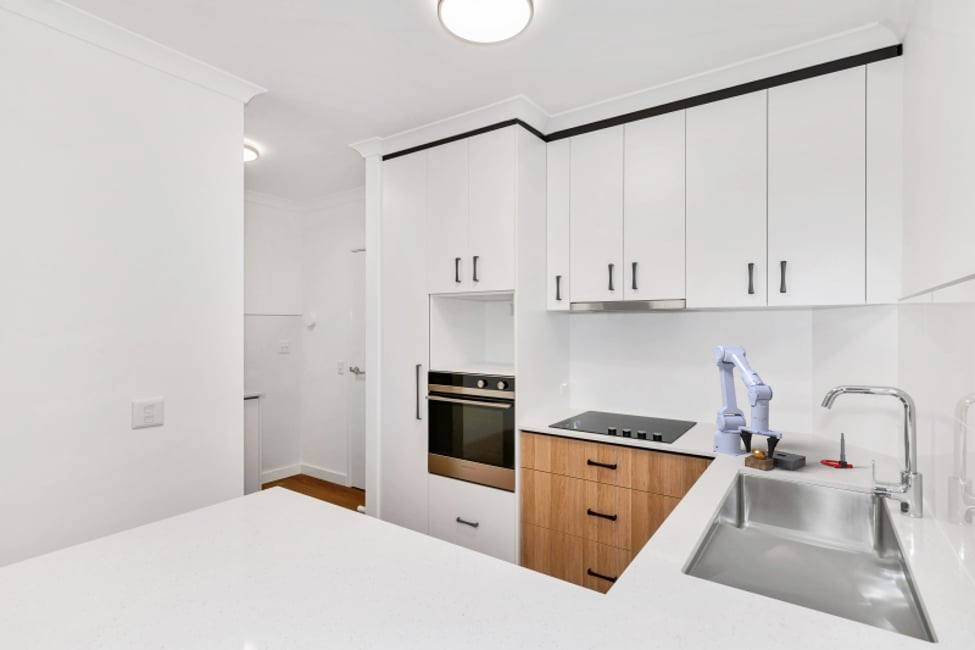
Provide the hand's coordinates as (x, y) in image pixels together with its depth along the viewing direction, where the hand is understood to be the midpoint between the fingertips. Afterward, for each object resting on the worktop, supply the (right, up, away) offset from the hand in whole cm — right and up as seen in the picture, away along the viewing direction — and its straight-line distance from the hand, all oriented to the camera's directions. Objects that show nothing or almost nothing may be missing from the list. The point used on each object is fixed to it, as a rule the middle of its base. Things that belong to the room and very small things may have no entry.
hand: (759, 454), depth 176 cm
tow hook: (+32, -6, +5) cm, 33 cm away
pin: (0, -5, 0) cm, 4 cm away
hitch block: (+11, -5, +4) cm, 13 cm away
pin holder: (0, -5, 0) cm, 5 cm away
